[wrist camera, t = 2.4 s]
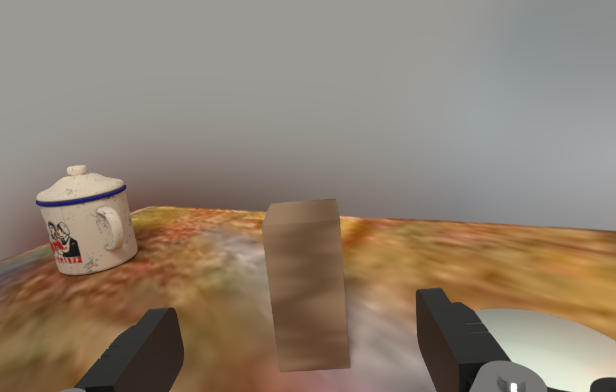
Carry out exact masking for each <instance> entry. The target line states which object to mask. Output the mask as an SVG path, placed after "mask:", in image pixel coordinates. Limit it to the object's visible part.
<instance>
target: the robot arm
mask: <svg viewBox="0 0 616 392" xmlns="http://www.w3.org/2000/svg"><path fill="white" fill-rule="evenodd" d="M416 317H417V337H418V343H419V348H420V351H421V354H422V357H423V359H424V361H425V364H426V366H427V369H428V371H429V374H430V376H431V378H432V381H433V383H434V386H435V388H436V391H437V392H570V391H564V390H558V389H554V388H550V387H547V386H546V384H545V382H544V381H543V379H542V378H541V377H540V376H539V375H538V374H537V373H535V372H534V371H532V370H531V369H529V368H527V367H525V366H523V365H520V364H518V363H514V362H512V361H511V359H510V358H509V357H508V355H507V354H506V353H505V351H504V350H503V349H502V347H501V346H500V345H499V343H498V342H497V341H496V339H495V338H494V337H493V336H492V334H491V333H489V330H488V329H487V328H486V326H485V325H484V324H482V321H481V320H480V318H479V317H478V316H477V314H476V313H475V312H474V310H472V309H470V308H469V307H467V306H466V305H464V304H462V303H461V302H456V303H451V302H450V301H449V299H448V298H447V296H446V295H445V293H444V292H443V290H442V289H441V288H431V289H418V290H417V291H416ZM183 360H184V347H183V342H182V338H181V333H180V328H179V323H178V318H177V314H176V311H175V309H174V308H159V309H149V310H148V311H147V312H146V313H145V315H144V316H143V317H142V318H141V319H140V321H139V322H138V323H137V324H136V325H134V326H132V327H130V328H129V329H127V330H126V331H124V332H123V333H122V334H120V335H119V336H118V337H117V338H116V339H115V340H114V341H113V343H112V344H111V345H110V346H109V349H107V350H106V351H105V352H104V353H103V354H102V355H101V358H100V359H98V360H97V361H96V362H95V363H94V365H93V366H92V367H91V368H90V369H89V370H88V372H87V373H86V374H85V375H84V376H83V377H82V379H81V380H80V381H79V382H78V383H77V384H76V386H75V387H74V388H72V389H66V390H63V391H60V392H169V391H170V389H171V387H172V385H173V383H174V381H175V379H176V377H177V376H178V374H179V372H180V370H181V368H182V365H183ZM590 392H616V377H604V378H599V379H597V380H595V381H593V382H592V384H591V385H590Z"/></svg>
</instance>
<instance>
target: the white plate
mask: <svg viewBox="0 0 616 392" xmlns="http://www.w3.org/2000/svg"><path fill="white" fill-rule="evenodd" d="M475 313H476V314H477V316H478V317H479V318H480V320H481V321H482V324H484V325H485V326H486V328H487V329H488V330H489V333H491V334H492V336H493V337H494V338H495V339H496V341H497V342H498V343H499V345H500V346H501V347H502V349H503V350H504V351H505V353H506V354H507V355H508V357H509V358H510V359H511V361H512V362H514V363H518V364H520V365H523V366H525V367H527V368H529V369H531V370H532V371H534V372H535V373H537V374H538V375H539V376H540V377H541V378H542V379H543V381H544V382H545V384H546V386H547V387H550V388H554V389H558V390H564V391H570V392H590V385H591V384H592V382H593V381H595V380H597V379H599V378H604V377H616V341H615V340H613V339H611V338H609V337H607V336H606V335H604V334H602V333H600V332H597V331H595V330H593V329H591V328H589V327H586V326H584V325H581V324H579V323H576V322H573V321H570V320H567V319H564V318H560V317H557V316H553V315H549V314H545V313H540V312H534V311H528V310H519V309H488V310H480V311H475Z"/></svg>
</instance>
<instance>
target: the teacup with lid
mask: <svg viewBox="0 0 616 392" xmlns="http://www.w3.org/2000/svg"><path fill="white" fill-rule="evenodd" d="M87 172H88V169H87V167H86V166H85V165H78V166H72V167H69V168H68V169H67V173H68V175H69V176H68V177H64V178H62V179H60V180H59V181H58V182H57V183H55V184H54V185H53V186H52V187H51V188H49V189H47V190H45V191H42V192H40V193H39V194H38V196H37V198H36V199H37V200H36V204H37V205H39V206H40V209H41V212H42V216H43V219H44V223H45V226H46V230H47V233H48V237H49V240H50V244H51V247H52V251H53V254H54V258H55V261H56V265H57V268H58V270H59V271H60V272H61V273H63V274H66V275H85V274H92V273H96V272H100V271H104V270H107V269H110V268H113V267H116V266H118V265H120V264H122V263H124V262H126V261H128V260H129V259H131V258H132V257H133V256H134V255H135V254H136V253H137V250H138V248H137V243H136V239H135V234H134V230H133V225H132V221H131V216H130V212H129V207H128V203H127V199H126V194H125V189H126V185H125V184H124V182H123V181H122V180H120V179H112V178H107V177H104V176H102V175H100V174H96V173H87Z"/></svg>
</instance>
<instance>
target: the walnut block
mask: <svg viewBox="0 0 616 392" xmlns="http://www.w3.org/2000/svg"><path fill="white" fill-rule="evenodd" d="M261 226H262V234H263V242H264V250H265V258H266V266H267V274H268V281H269V289H270V297H271V305H272V313H273V321H274V329H275V336H276V344H277V352H278V360H279V368H280V372H292V371H309V370H327V369H344V368H350V359H349V345H348V330H347V316H346V301H345V287H344V272H343V258H342V243H341V229H340V218H339V213H338V207H337V202H336V199H325V200H312V201H300V202H286V203H273V204H271V205H270V207H269V209H268V212H267V214H266V216H265V218H264V221H263V223H262V225H261Z"/></svg>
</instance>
